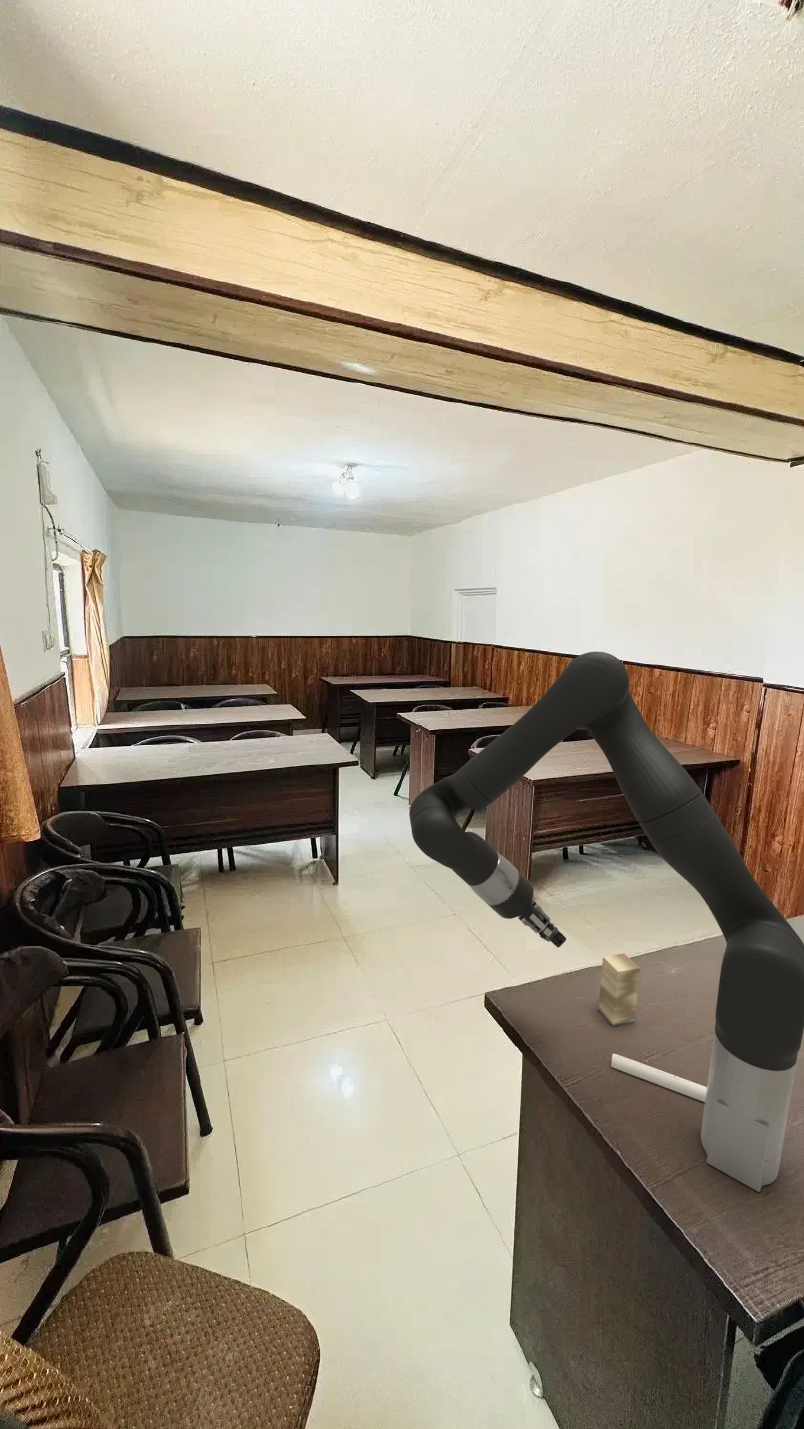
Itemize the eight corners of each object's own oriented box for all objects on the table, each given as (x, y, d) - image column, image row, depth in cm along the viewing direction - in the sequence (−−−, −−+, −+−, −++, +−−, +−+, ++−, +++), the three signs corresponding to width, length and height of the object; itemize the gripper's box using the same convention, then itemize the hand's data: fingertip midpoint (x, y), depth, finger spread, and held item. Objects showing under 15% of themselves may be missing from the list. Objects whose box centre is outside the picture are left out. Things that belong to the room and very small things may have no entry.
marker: (737, 1107, 84) (739, 1094, 83) (738, 1118, 82) (740, 1105, 82) (612, 1061, 92) (613, 1048, 92) (610, 1069, 90) (611, 1057, 90)
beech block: (613, 1026, 100) (618, 971, 98) (598, 1009, 104) (603, 956, 102) (634, 1022, 101) (640, 968, 99) (619, 1005, 105) (624, 953, 103)
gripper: (533, 885, 85) (597, 947, 90) (497, 850, 97) (555, 906, 102) (500, 922, 84) (566, 981, 90) (468, 881, 97) (528, 936, 102)
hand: (560, 941), depth 96 cm, fingers closed
